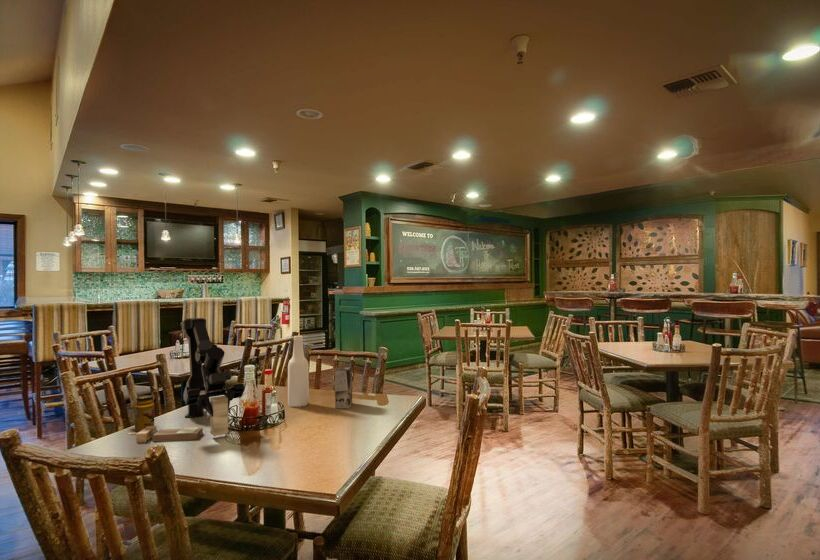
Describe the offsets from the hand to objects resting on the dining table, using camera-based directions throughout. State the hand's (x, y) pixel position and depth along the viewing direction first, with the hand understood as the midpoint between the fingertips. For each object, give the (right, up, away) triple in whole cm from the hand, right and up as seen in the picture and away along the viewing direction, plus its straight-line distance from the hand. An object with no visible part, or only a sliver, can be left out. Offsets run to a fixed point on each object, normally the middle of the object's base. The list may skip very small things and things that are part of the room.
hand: (220, 414), depth 150 cm
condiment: (-32, -9, +9) cm, 35 cm away
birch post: (-1, -7, +1) cm, 7 cm away
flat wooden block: (-15, -8, +2) cm, 17 cm away
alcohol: (+16, -9, +43) cm, 47 cm away
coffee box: (+36, -9, +41) cm, 55 cm away
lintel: (-26, -9, +1) cm, 27 cm away
